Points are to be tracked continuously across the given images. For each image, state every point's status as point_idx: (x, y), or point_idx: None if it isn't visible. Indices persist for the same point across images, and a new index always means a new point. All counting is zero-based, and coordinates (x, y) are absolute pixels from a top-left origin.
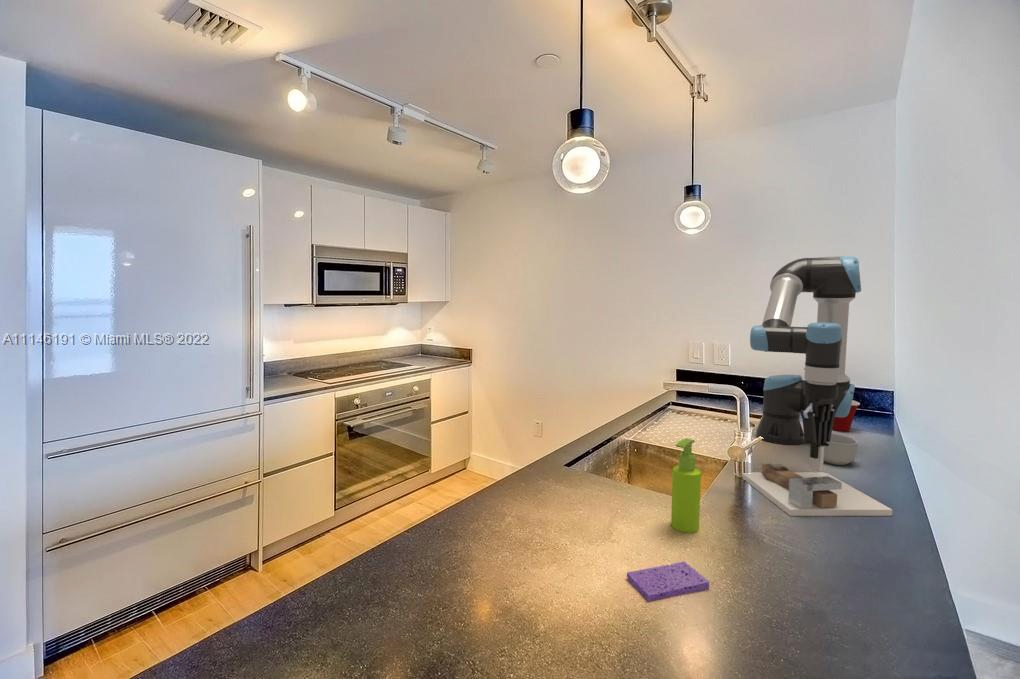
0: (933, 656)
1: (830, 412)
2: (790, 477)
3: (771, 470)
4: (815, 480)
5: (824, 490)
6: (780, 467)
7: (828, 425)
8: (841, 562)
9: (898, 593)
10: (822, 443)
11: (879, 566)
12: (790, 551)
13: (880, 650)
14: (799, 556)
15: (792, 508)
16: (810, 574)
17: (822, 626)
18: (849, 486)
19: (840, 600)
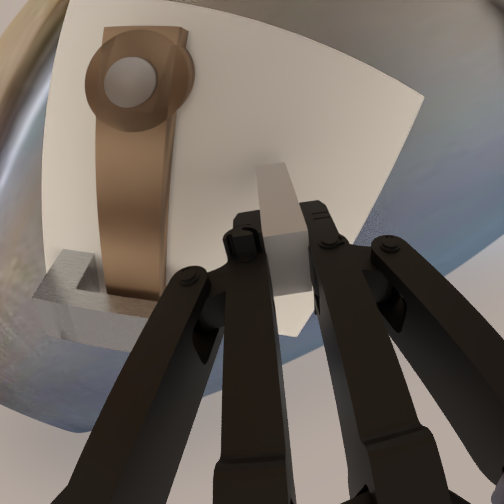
0: (65, 426)
1: (500, 470)
2: (105, 200)
3: (90, 103)
4: (102, 330)
5: None
6: (131, 106)
7: (433, 380)
8: (62, 373)
9: (89, 407)
10: (314, 293)
11: (104, 390)
12: (11, 340)
13: (35, 414)
14: (18, 350)
15: None
16: (19, 369)
17: (8, 394)
18: (363, 215)
19: (31, 392)
